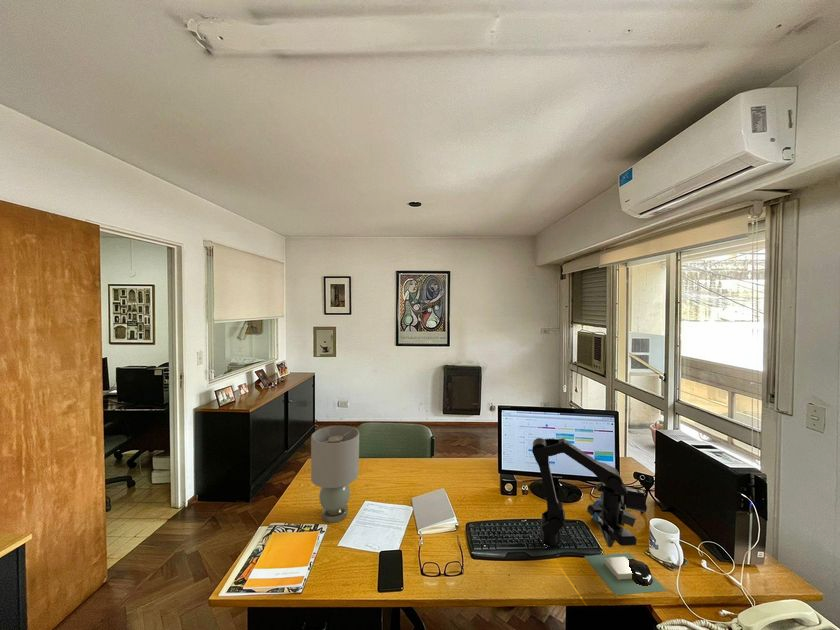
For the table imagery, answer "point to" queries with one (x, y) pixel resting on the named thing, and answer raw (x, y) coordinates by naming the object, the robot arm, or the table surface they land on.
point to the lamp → (334, 468)
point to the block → (619, 567)
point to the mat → (623, 584)
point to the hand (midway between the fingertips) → (609, 546)
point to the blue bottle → (597, 503)
